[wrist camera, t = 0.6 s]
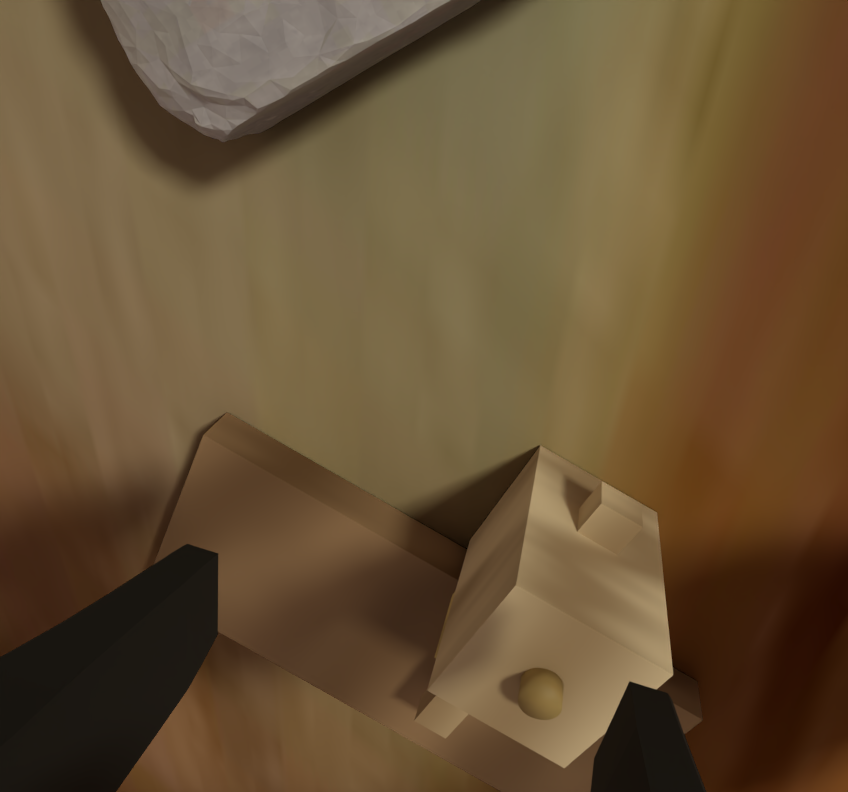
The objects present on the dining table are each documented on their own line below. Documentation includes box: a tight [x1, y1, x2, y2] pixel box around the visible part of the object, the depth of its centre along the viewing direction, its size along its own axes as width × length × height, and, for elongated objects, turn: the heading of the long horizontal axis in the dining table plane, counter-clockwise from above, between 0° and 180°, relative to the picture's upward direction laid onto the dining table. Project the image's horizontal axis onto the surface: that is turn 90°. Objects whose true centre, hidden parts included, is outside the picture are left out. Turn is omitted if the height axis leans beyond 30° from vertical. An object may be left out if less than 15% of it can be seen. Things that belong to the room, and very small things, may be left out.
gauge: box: [414, 445, 673, 768], centre depth 19 cm, size 4×11×7 cm, turn 153°
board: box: [153, 413, 703, 792], centre depth 24 cm, size 18×8×2 cm, turn 63°
